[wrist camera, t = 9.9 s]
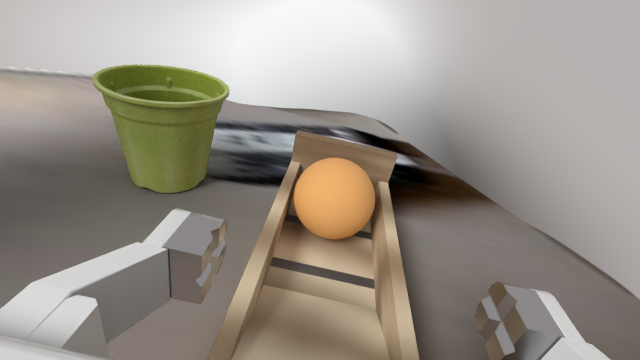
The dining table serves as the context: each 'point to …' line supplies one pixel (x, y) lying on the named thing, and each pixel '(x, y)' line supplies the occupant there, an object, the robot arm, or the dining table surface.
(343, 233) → the ball
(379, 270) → the lane
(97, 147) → the dining table surface
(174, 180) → the plant pot
